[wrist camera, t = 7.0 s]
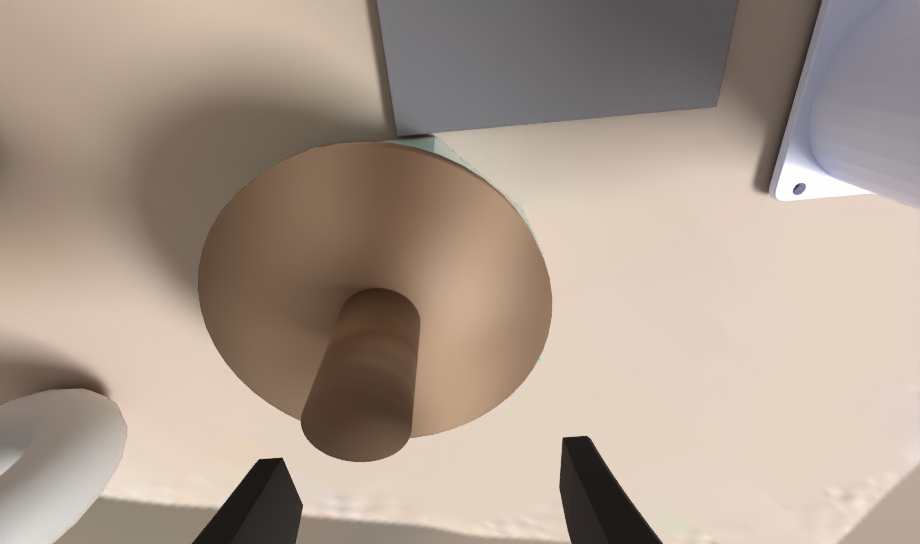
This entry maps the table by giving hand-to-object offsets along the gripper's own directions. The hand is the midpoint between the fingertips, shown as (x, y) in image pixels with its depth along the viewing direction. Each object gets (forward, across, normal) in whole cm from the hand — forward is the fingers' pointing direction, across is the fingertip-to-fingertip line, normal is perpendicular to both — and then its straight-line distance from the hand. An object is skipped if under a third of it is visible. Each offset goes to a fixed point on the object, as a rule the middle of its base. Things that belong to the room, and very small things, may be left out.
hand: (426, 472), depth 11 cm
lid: (+6, +2, -1) cm, 6 cm away
